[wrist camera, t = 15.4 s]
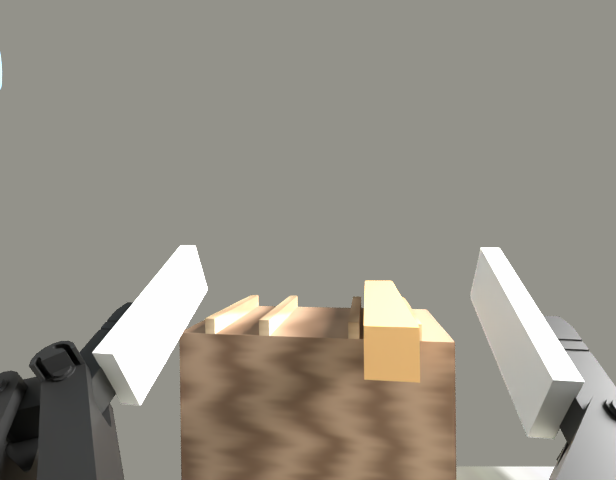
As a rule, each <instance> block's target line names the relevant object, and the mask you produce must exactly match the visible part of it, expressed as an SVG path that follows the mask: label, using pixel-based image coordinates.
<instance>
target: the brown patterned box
mask: <svg viewBox="0 0 616 480" xmlns="http://www.w3.org/2000/svg"><path fill="white" fill-rule="evenodd" d="M402 299H403V300H404V302H405V304H406V306H407V307H408V309H409V311H410V312H411V314H412V316H413V317H414V319H415V321H416V323H417V324H418V326H419V330H420V383H417V382H399V381H381V380H364V308H361V297H353V301H352V306H351V308H324V307H298V304H297V303H298V302H297V301H298V300H297V296H289V297H288V298H287V299H286V300H284V301H283V302H282V303H280V304H279V305H278V306H276V307H275V306H274V307H273V306H258V295H251V296H249V297H247V298H245V299H243V300H241V301H239V302H237V303H235V304H233V305H231V306H229V307H227V308H225V309H223V310H222V311H219V312H217V313H215V314H213V315H211V316H209V317H207V318H206V319H205V320H204V321H202V322H200V323H198V324H196V325H194V326H192V327H190V328H188V329H186V330H184V331H183V333H182V335H181V336H180V402H181V404H180V405H181V469H182V472H181V476H182V480H456V414H455V413H456V409H455V342H454V341H453V340H452V339H451V337H450V336H449V335H448V334H447V333H446V332H445V330H444V329H443V328H442V327H441V326H440V325H439V323H438V322H437V321H436V320H435V319H434V318H433V317H432V316H431V314H430V313H429V312H428V311H427V310H424V309H422V310H421V309H411V307H410V306H409V304H408V303H407V301H406V299H405V298H403V297H402Z"/></svg>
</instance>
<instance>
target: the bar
mask: <svg viewBox="0 0 616 480" xmlns="http://www.w3.org/2000/svg"><path fill="white" fill-rule="evenodd" d="M364 380H381V381H399V382H417V383H420V330H419V326H418V324H417V323H416V321H415V319H414V317H413V316H412V314H411V312H410V311H409V309H408V307H407V306H406V304H405V302H404V300H403V299H402V297H401V295H400V294H399V292H398V290H397V289H396V287H395V285H394V284H393V282H392V281H365V299H364Z"/></svg>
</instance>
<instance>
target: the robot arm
mask: <svg viewBox="0 0 616 480" xmlns="http://www.w3.org/2000/svg"><path fill="white" fill-rule="evenodd" d="M1 86H2V65H1V56H0V89H1ZM207 290H208V289H207V285H206V282H205V278H204V275H203V271H202V268H201V264H200V260H199V257H198V253H197V250H196V246H194V245H181V246H180V247H179V248H178V249H177V250H176V252H175V253H174V254H173V255H172V256H171V258H170V259H169V260H168V261H167V262H166V264H165V265H164V266H163V267H162V269H161V270H160V271H159V272H158V273H157V275H156V276H155V277H154V278H153V279H152V281H151V282H150V283H149V284H148V286H147V287H146V288H145V289H144V290H143V292H142V293H141V294H140V295H139V297H138V298H137V299H136V300H135V301H134V303H126V304H124V305H123V306H122V307H120V308H119V309H117V310H116V311H115V312H114V313H113V314H112V316H111V317H110V318H109V319H108V321H107V322H106V323H105V324H104V325H103V326H102V327H101V330H99V331H98V332H97V333H96V334H95V335H94V336H93V338H92V339H91V340H90V341H89V342H88V343H87V344H86V346H85V347H84V348H83V349H82V350H81V351H80V353H79V351H78V350H77V348H76V346H75V345H74V343H73V342H70V341H60V342H57V343H54V344H51V345H49V346H47V347H45V348H44V349H42V350H41V351H40V352H38V353H37V354H36V355H35V356H34V357H33V358H32V360H31V362H30V364H29V367H30V368H31V370H32V371H33V372H34V374H35V375H36V376H37V377H33V378H29V379H24V380H23V379H22V378H21V377H20V375H19V374H18V373H17V372H14V371H7V372H2V373H0V480H124V475H123V469H122V463H121V457H120V451H119V445H118V439H117V432H116V426H115V420H114V414H113V408H112V406H111V405H110V402H111V400H112V399H113V397H114V396H115V394H116V395H117V397H118V399H119V401H120V402H121V404H129V405H141V403H142V402H143V400H144V398H145V397H146V395H147V393H148V391H149V390H150V388H151V386H152V384H153V383H154V381H155V379H156V378H157V376H158V374H159V373H160V371H161V369H162V367H163V366H164V364H165V362H166V360H167V359H168V357H169V355H170V354H171V352H172V350H173V348H174V347H175V345H176V343H177V342H178V340H179V338H180V336H181V335H182V333H183V331H184V329H185V328H186V326H187V324H188V323H189V321H190V319H191V317H192V316H193V314H194V312H195V311H196V309H197V307H198V305H199V304H200V302H201V300H202V299H203V297H204V295H205V293H206V292H207ZM470 298H471V301H472V303H473V305H474V308H475V310H476V313H477V315H478V318H479V320H480V322H481V325H482V328H483V330H484V332H485V335H486V337H487V340H488V342H489V345H490V347H491V350H492V352H493V354H494V357H495V359H496V362H497V364H498V367H499V369H500V372H501V374H502V376H503V379H504V381H505V384H506V386H507V388H508V391H509V393H510V396H511V398H512V401H513V403H514V406H515V408H516V411H517V413H518V415H519V418H520V420H521V423H522V425H523V428H524V430H525V433H526V435H527V437H533V438H546V439H555V437H556V435H557V433H558V431H559V429H561V431H562V432H563V435H564V437H565V439H566V441H567V442H566V444H565V446H564V448H563V449H562V451H561V453H560V455H559V456H558V458H557V463H556V465H555V468H554V470H553V472H552V474H551V476H550V479H549V480H616V387H615V386H614V384H613V383H612V381H611V380H610V378H609V377H608V376H607V374H606V373H605V371H604V370H603V369H602V367H601V366H600V364H599V363H598V362H597V360H596V359H595V357H594V356H593V355H592V353H591V352H589V349H588V348H587V346H586V345H585V343H584V342H582V339H581V338H580V336H579V335H578V334H577V332H576V331H575V329H574V328H573V327H572V326H571V325H569V324H568V323H567V322H566V321H564V320H563V319H562V318H560V317H559V316H543V315H542V314H541V312H540V311H539V309H538V307H537V306H536V304H535V303H534V301H533V300H532V298H531V297H530V295H529V293H528V292H527V290H526V289H525V287H524V286H523V284H522V282H521V281H520V279H519V278H518V276H517V274H516V273H515V271H514V270H513V268H512V267H511V265H510V263H509V262H508V260H507V259H506V257H505V256H504V254H503V252H502V251H501V249H500V248H481V249H480V253H479V258H478V262H477V267H476V271H475V276H474V280H473V285H472V289H471V294H470Z"/></svg>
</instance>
